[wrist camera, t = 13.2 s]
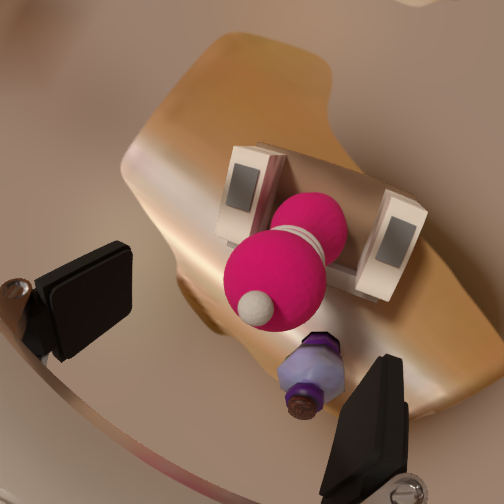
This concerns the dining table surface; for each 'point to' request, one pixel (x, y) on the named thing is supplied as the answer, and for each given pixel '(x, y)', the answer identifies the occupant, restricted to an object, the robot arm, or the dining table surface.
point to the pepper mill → (286, 263)
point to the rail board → (345, 194)
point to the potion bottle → (312, 375)
